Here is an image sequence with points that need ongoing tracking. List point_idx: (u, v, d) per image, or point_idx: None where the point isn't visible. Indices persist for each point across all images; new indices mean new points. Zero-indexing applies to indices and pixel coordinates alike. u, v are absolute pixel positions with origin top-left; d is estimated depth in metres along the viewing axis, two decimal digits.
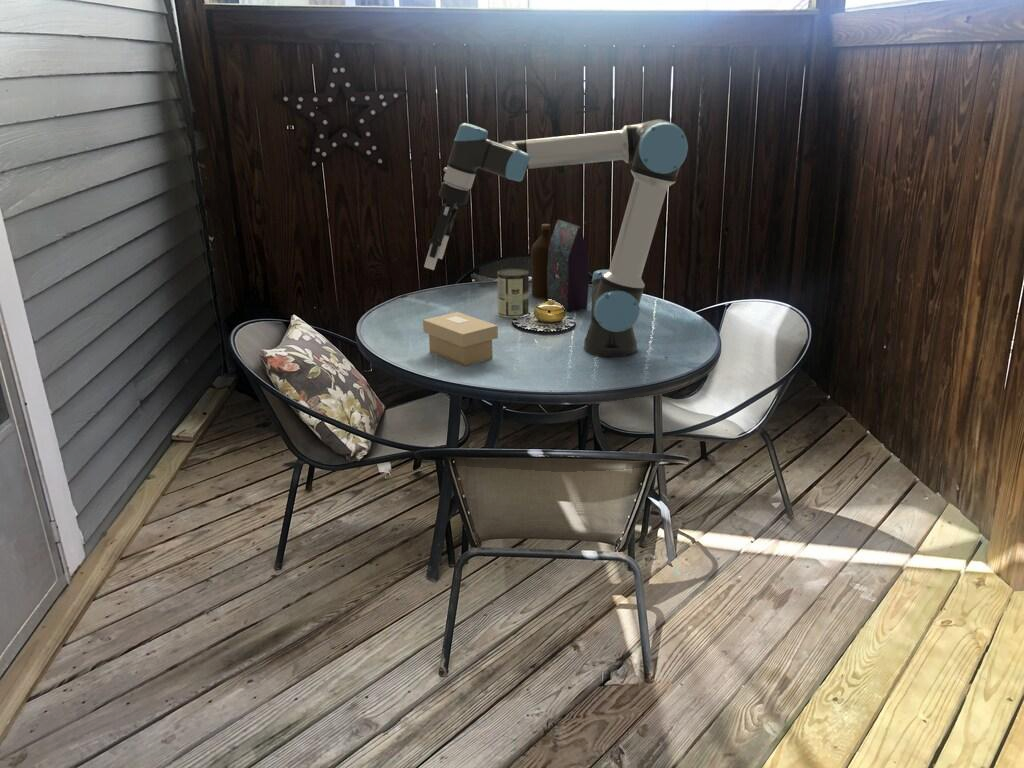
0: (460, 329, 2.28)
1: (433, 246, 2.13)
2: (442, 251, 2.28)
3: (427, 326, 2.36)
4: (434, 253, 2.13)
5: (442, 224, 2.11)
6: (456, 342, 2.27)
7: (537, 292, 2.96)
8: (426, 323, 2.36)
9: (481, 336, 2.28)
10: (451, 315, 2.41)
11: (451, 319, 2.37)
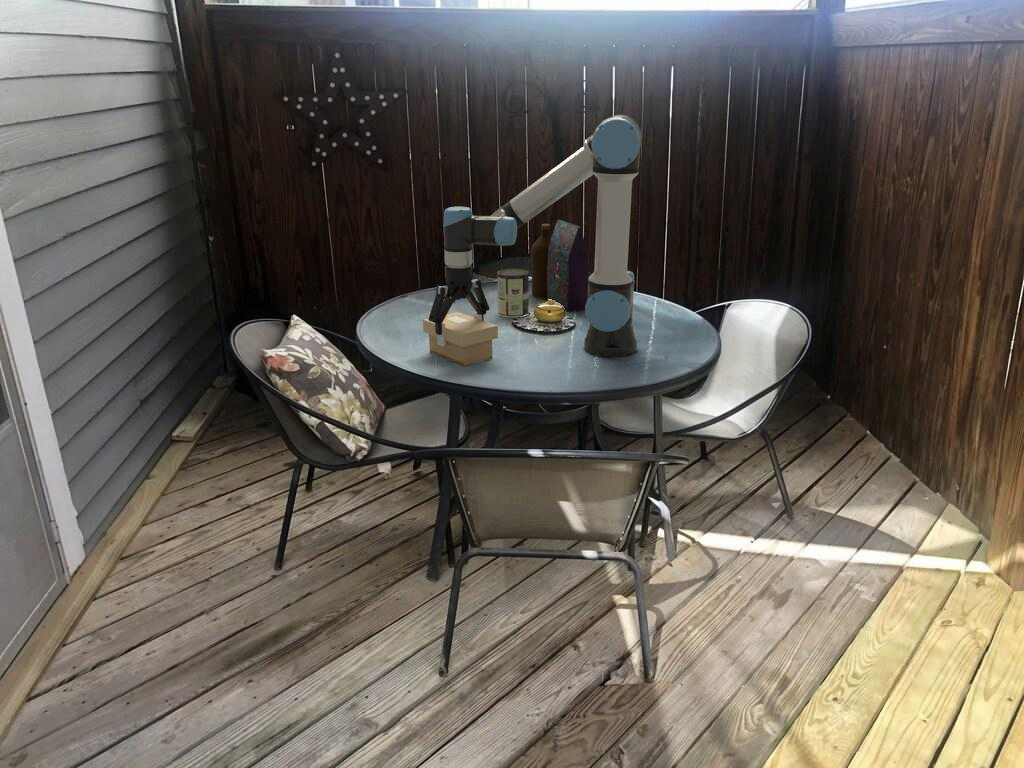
0: (460, 329, 2.28)
1: (435, 324, 2.29)
2: None
3: (427, 326, 2.36)
4: (437, 330, 2.29)
5: (436, 303, 2.27)
6: (456, 342, 2.27)
7: (537, 292, 2.96)
8: (426, 322, 2.36)
9: (481, 336, 2.28)
10: (451, 315, 2.41)
11: (451, 319, 2.37)
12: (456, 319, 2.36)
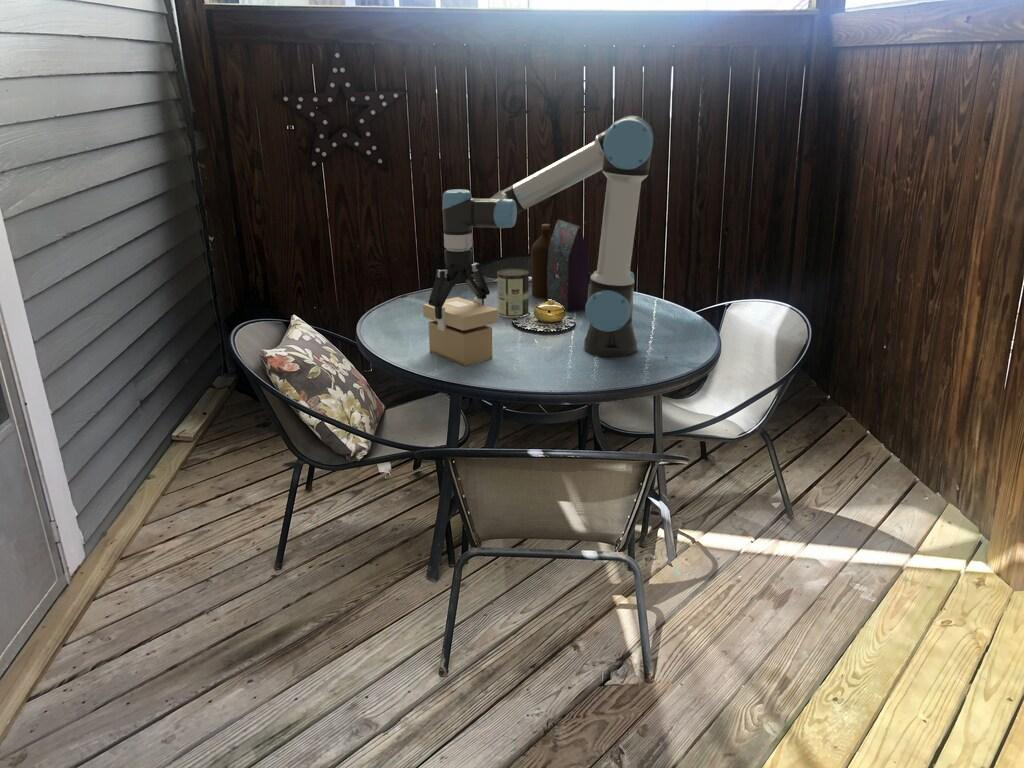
0: (460, 312, 2.26)
1: (435, 308, 2.27)
2: None
3: (427, 311, 2.34)
4: (437, 314, 2.27)
5: (436, 286, 2.25)
6: (456, 326, 2.25)
7: (537, 292, 2.96)
8: (426, 307, 2.34)
9: (481, 320, 2.27)
10: (451, 300, 2.39)
11: (451, 303, 2.35)
12: (456, 303, 2.35)
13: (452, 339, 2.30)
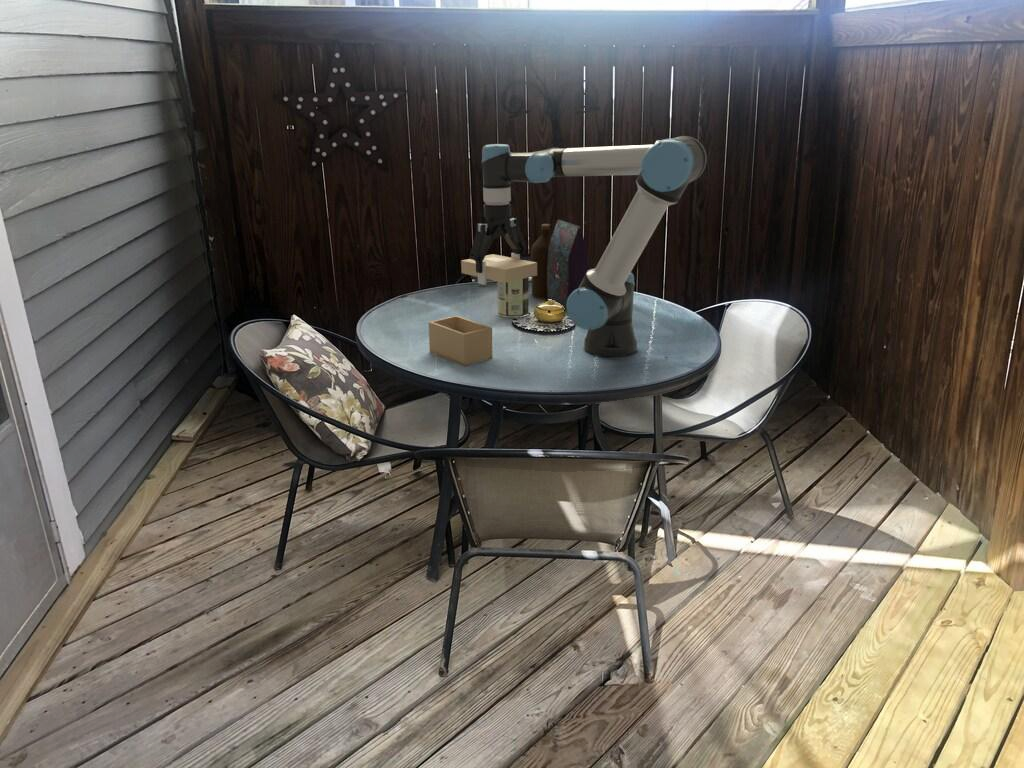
0: (501, 266, 2.30)
1: (476, 262, 2.30)
2: None
3: (466, 267, 2.37)
4: (478, 268, 2.30)
5: (477, 240, 2.28)
6: (497, 278, 2.28)
7: (537, 292, 2.96)
8: (464, 263, 2.37)
9: (522, 273, 2.30)
10: (488, 256, 2.42)
11: (489, 259, 2.38)
12: (494, 259, 2.38)
13: (452, 339, 2.30)
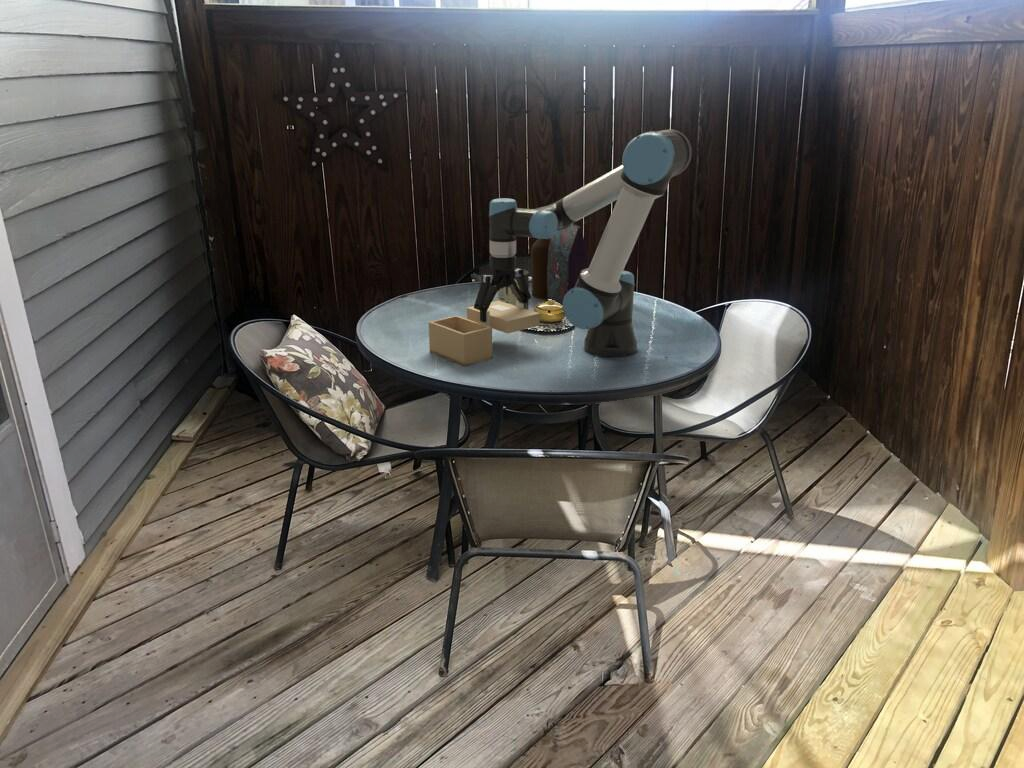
0: (504, 316, 2.36)
1: (480, 312, 2.37)
2: None
3: (471, 314, 2.44)
4: (482, 318, 2.37)
5: (481, 291, 2.35)
6: (500, 329, 2.35)
7: (537, 292, 2.96)
8: (470, 310, 2.44)
9: (524, 323, 2.37)
10: (493, 303, 2.49)
11: (494, 307, 2.45)
12: (499, 307, 2.45)
13: (452, 339, 2.30)
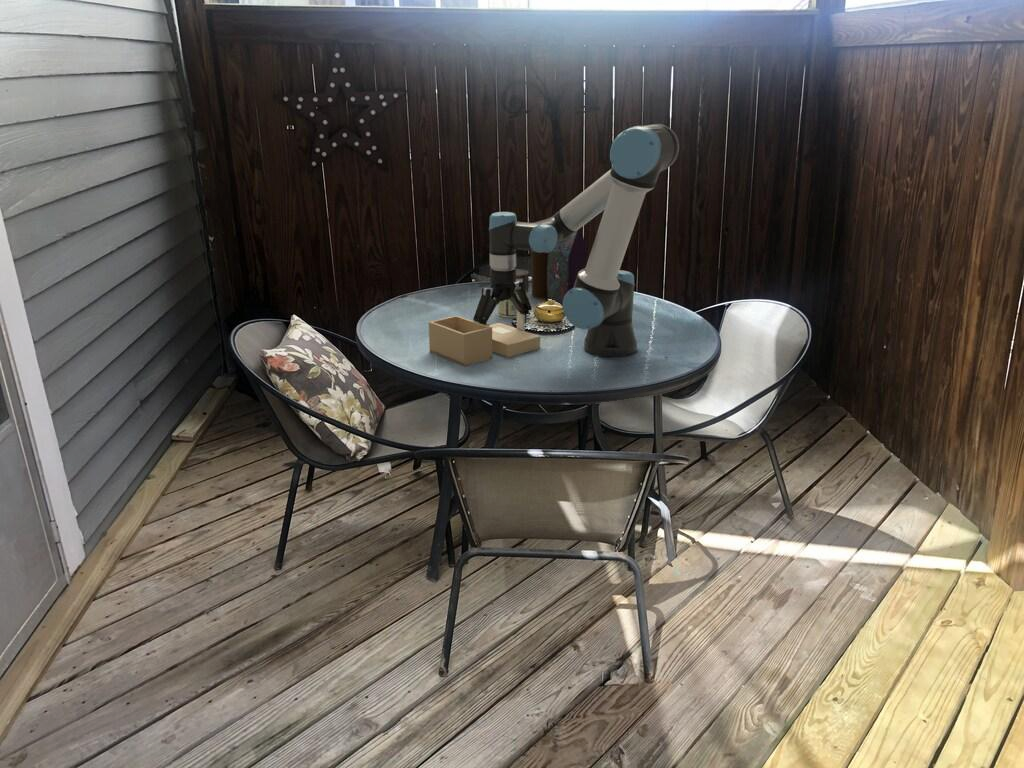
0: (505, 339, 2.39)
1: None
2: (521, 328, 2.48)
3: None
4: None
5: (481, 303, 2.36)
6: (501, 352, 2.38)
7: (537, 292, 2.96)
8: None
9: (525, 347, 2.39)
10: (494, 326, 2.51)
11: (494, 330, 2.47)
12: (499, 330, 2.47)
13: (452, 339, 2.30)
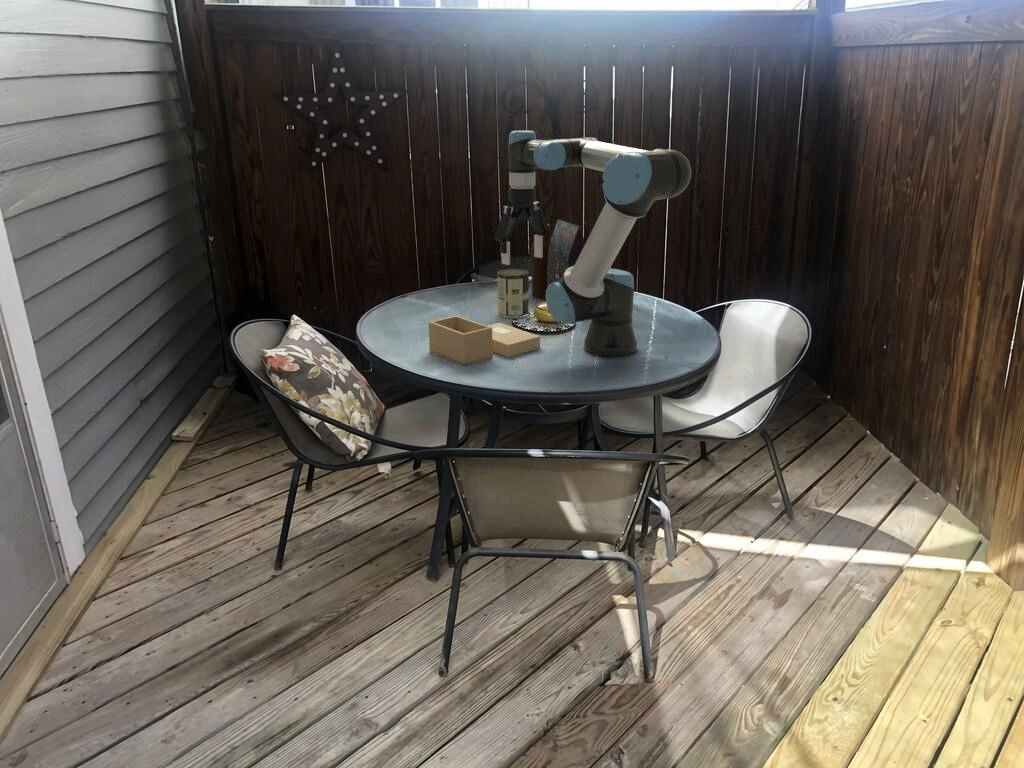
0: (505, 339, 2.39)
1: (500, 243, 2.40)
2: (539, 250, 2.50)
3: None
4: (502, 249, 2.40)
5: (502, 222, 2.38)
6: (501, 352, 2.38)
7: (537, 292, 2.96)
8: None
9: (525, 347, 2.39)
10: (494, 326, 2.51)
11: (494, 330, 2.47)
12: (499, 330, 2.47)
13: (452, 339, 2.30)
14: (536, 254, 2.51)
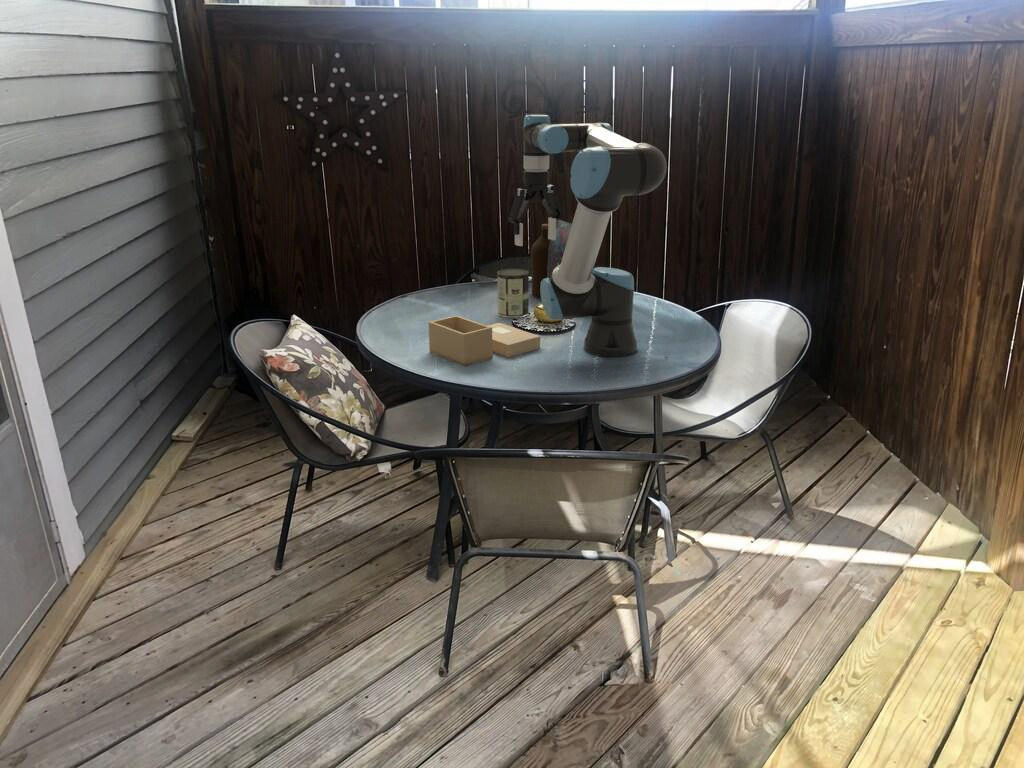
0: (505, 339, 2.39)
1: (514, 224, 2.46)
2: (553, 233, 2.56)
3: None
4: (515, 230, 2.46)
5: (515, 204, 2.44)
6: (501, 352, 2.38)
7: (537, 292, 2.96)
8: None
9: (525, 347, 2.39)
10: (494, 326, 2.51)
11: (494, 330, 2.47)
12: (499, 330, 2.47)
13: (452, 339, 2.30)
14: (550, 236, 2.57)
